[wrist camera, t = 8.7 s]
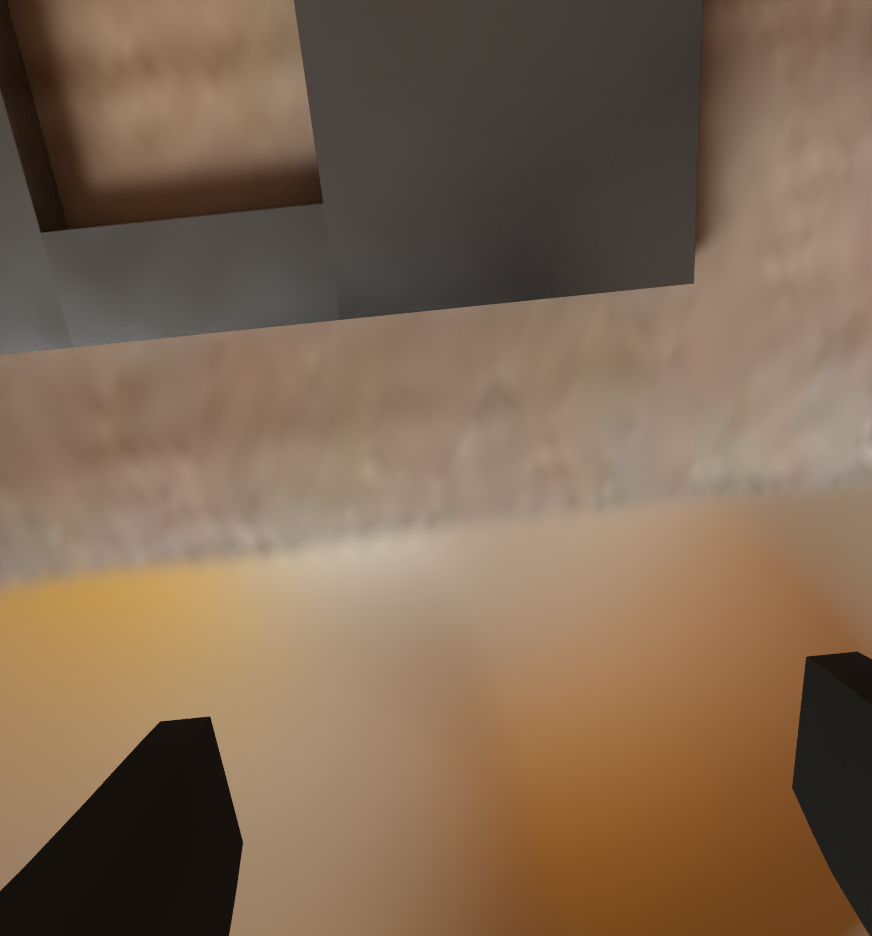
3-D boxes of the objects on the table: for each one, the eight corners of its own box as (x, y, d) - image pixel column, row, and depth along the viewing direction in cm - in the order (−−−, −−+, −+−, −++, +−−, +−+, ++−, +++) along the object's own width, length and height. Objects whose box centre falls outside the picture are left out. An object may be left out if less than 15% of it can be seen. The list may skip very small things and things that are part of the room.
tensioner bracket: (687, -328, 13) (715, -376, 12) (674, 275, 16) (693, 283, 15) (-484, -203, 13) (-569, -238, 12) (-232, 368, 16) (-278, 383, 15)
